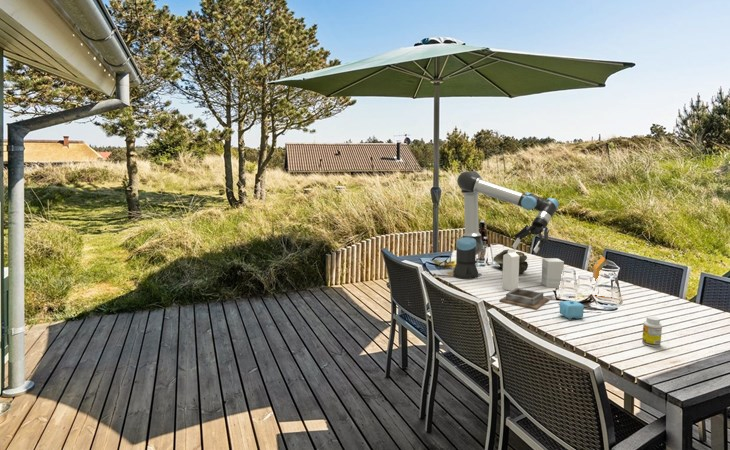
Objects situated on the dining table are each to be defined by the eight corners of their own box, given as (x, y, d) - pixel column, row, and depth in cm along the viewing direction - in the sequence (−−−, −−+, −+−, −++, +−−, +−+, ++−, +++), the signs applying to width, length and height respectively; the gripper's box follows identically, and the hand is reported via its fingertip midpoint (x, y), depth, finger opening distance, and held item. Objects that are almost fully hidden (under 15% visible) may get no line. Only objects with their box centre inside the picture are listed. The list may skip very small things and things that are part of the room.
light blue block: (560, 320, 172) (561, 303, 171) (552, 315, 178) (553, 299, 177) (586, 319, 173) (587, 302, 172) (577, 314, 179) (578, 298, 178)
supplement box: (557, 283, 228) (558, 258, 227) (563, 287, 220) (564, 261, 218) (540, 283, 229) (542, 257, 227) (546, 287, 221) (547, 261, 219)
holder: (499, 301, 197) (499, 294, 196) (513, 293, 210) (514, 286, 210) (536, 309, 185) (536, 301, 184) (549, 300, 198) (549, 292, 197)
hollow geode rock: (524, 283, 246) (541, 265, 246) (511, 270, 243) (528, 252, 243) (501, 271, 273) (516, 255, 273) (489, 259, 270) (504, 243, 270)
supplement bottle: (642, 339, 151) (645, 314, 150) (660, 343, 148) (663, 317, 146) (641, 344, 147) (643, 318, 146) (659, 348, 143) (662, 321, 142)
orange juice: (594, 296, 204) (596, 258, 202) (591, 291, 213) (594, 255, 210) (611, 297, 201) (614, 259, 199) (608, 293, 210) (611, 256, 207)
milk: (518, 289, 217) (520, 250, 214) (510, 291, 214) (512, 251, 211) (509, 286, 223) (511, 248, 220) (501, 288, 220) (503, 249, 217)
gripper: (564, 227, 219) (547, 257, 213) (525, 223, 240) (508, 250, 234) (559, 218, 215) (541, 248, 209) (520, 215, 236) (502, 242, 230)
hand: (524, 249), depth 221 cm, fingers open, 13 cm apart
